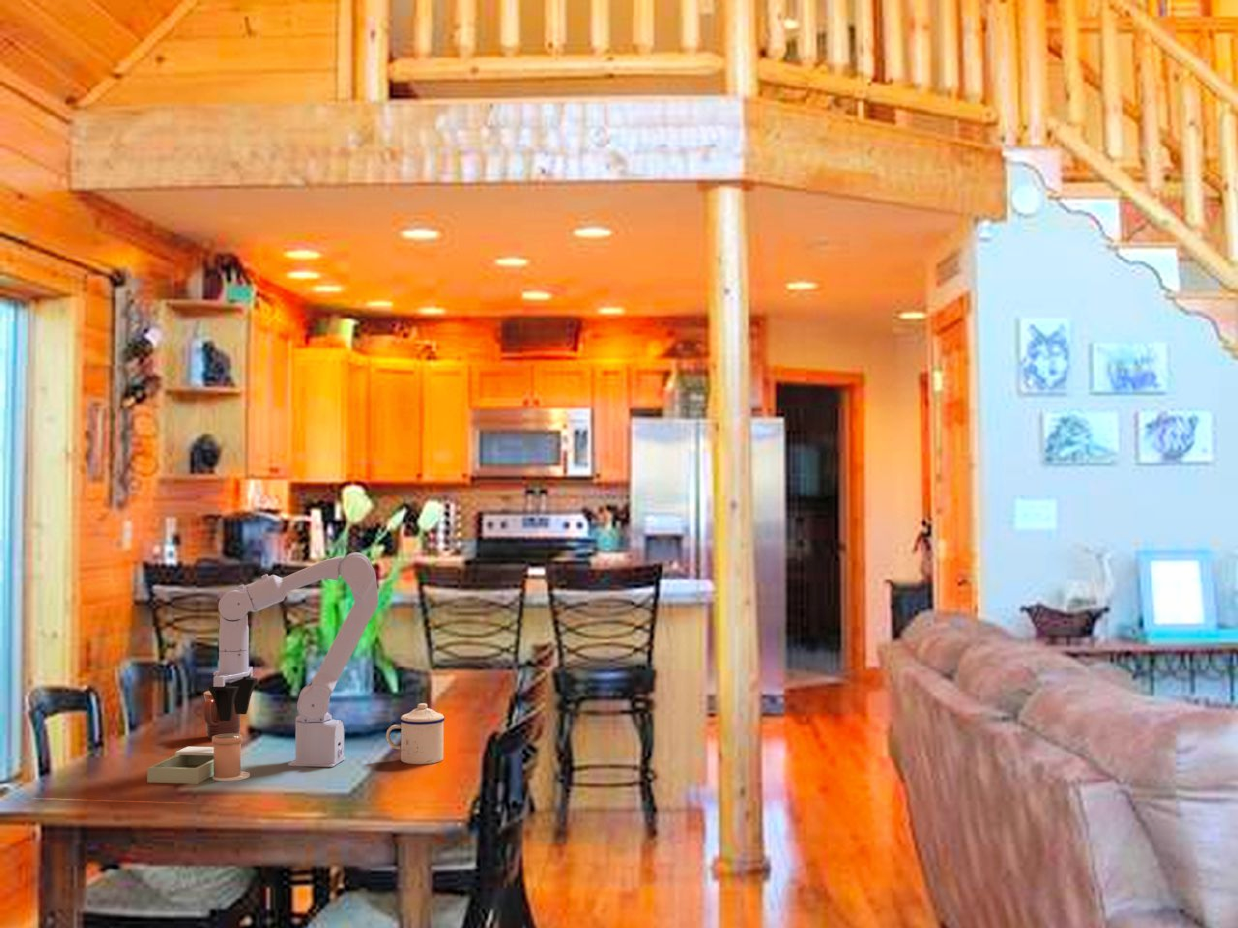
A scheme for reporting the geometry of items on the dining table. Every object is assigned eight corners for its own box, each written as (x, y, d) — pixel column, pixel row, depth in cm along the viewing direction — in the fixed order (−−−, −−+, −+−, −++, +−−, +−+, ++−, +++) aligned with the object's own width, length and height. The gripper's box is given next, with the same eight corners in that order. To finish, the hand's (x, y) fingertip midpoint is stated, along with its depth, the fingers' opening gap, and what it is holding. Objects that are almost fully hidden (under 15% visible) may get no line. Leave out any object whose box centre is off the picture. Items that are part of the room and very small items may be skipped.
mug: (215, 733, 285) (216, 688, 285) (250, 734, 283) (250, 689, 284) (187, 743, 273) (188, 696, 274) (223, 745, 272) (224, 698, 272)
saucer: (255, 774, 243) (255, 771, 243) (240, 783, 236) (240, 779, 236) (221, 773, 243) (221, 770, 243) (205, 782, 236) (205, 778, 237)
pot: (246, 772, 242) (246, 733, 242) (235, 778, 236) (235, 738, 237) (219, 771, 243) (219, 733, 243) (207, 778, 237) (207, 738, 237)
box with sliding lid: (237, 765, 251) (237, 747, 252) (198, 785, 234) (199, 766, 234) (187, 763, 253) (187, 746, 253) (145, 783, 235) (145, 765, 235)
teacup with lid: (446, 755, 261) (447, 700, 261) (441, 765, 252) (441, 707, 252) (389, 755, 260) (389, 700, 261) (382, 765, 251) (382, 707, 252)
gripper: (230, 645, 258) (229, 710, 258) (199, 654, 244) (198, 723, 243) (262, 645, 257) (262, 711, 257) (233, 654, 243) (232, 724, 243)
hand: (233, 717), depth 250 cm, fingers open, 7 cm apart
